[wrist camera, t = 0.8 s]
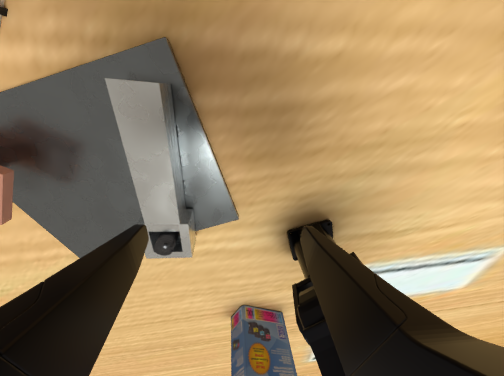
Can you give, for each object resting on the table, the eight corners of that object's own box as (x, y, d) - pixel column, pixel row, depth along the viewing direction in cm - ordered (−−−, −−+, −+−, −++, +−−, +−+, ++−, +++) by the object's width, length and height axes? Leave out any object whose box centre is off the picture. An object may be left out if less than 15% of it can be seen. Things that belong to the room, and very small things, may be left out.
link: (196, 240, 24) (192, 257, 22) (155, 240, 23) (146, 258, 21) (181, 84, 15) (171, 84, 13) (114, 78, 14) (91, 76, 12)
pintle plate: (238, 216, 24) (240, 242, 20) (87, 258, 25) (60, 291, 21) (167, 38, 14) (142, 20, 10) (-74, 119, 15) (-182, 131, 11)
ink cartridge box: (284, 310, 37) (310, 423, 25) (270, 323, 40) (289, 433, 27) (242, 303, 34) (247, 427, 22) (230, 317, 36) (229, 438, 24)
